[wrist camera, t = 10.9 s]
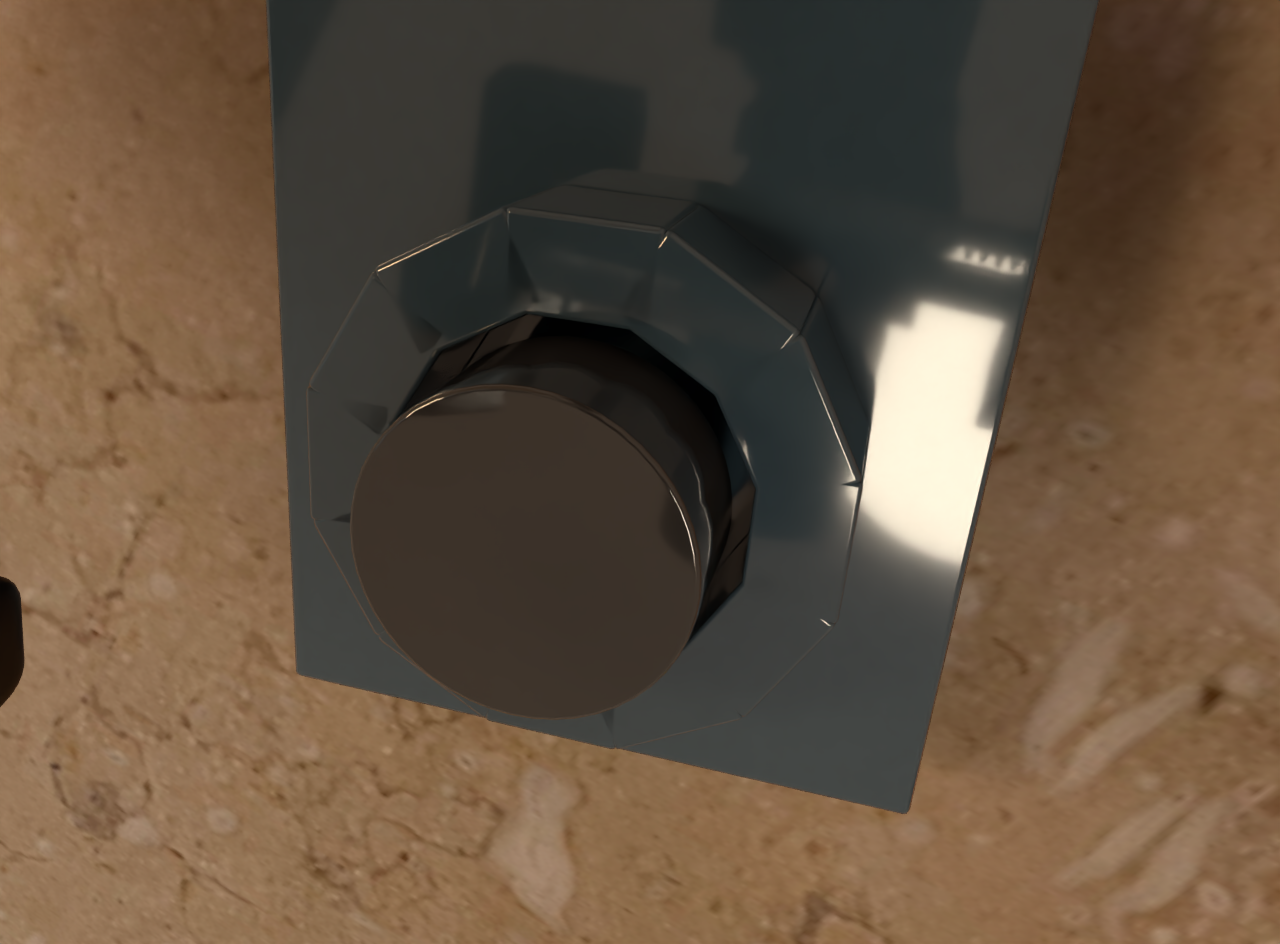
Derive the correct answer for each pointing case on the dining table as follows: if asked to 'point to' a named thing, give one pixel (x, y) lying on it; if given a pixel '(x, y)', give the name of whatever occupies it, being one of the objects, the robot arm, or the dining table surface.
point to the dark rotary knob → (544, 527)
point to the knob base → (686, 311)
